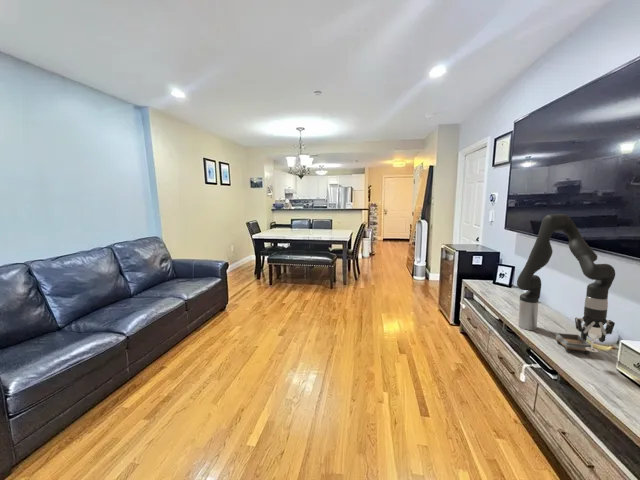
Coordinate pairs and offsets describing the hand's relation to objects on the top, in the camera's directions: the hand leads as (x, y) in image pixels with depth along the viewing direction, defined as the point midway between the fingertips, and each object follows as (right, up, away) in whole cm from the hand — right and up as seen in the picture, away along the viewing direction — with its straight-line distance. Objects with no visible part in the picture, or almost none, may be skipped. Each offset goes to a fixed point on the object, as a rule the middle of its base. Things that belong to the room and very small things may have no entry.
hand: (592, 340), depth 130 cm
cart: (+5, -10, +16) cm, 20 cm away
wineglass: (0, -5, +1) cm, 5 cm away
